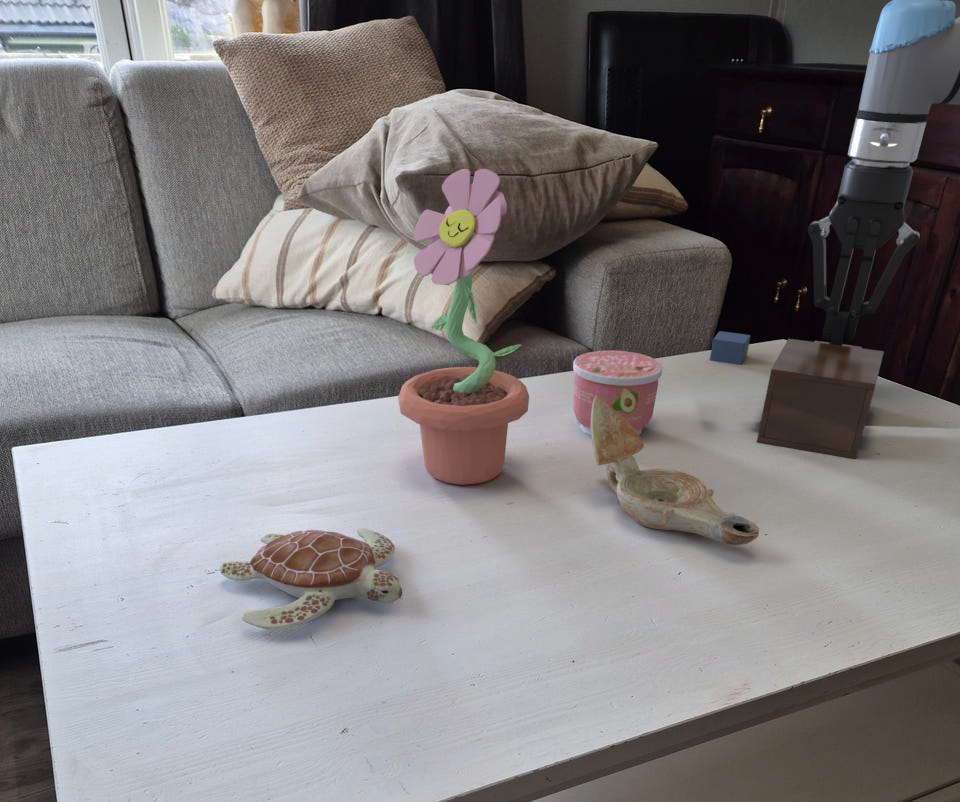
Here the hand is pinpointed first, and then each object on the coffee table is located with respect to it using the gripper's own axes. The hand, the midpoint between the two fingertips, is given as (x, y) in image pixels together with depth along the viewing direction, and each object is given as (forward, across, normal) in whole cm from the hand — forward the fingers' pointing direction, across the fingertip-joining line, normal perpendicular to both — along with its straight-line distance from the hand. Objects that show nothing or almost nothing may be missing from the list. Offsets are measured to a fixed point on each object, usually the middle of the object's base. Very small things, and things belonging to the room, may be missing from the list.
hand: (830, 365), depth 119 cm
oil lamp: (+6, -10, -43) cm, 45 cm away
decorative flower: (+6, -34, -41) cm, 53 cm away
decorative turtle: (+6, -34, -69) cm, 77 cm away
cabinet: (+5, 0, -11) cm, 12 cm away
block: (+5, -14, +9) cm, 18 cm away
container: (+6, -23, -21) cm, 31 cm away
